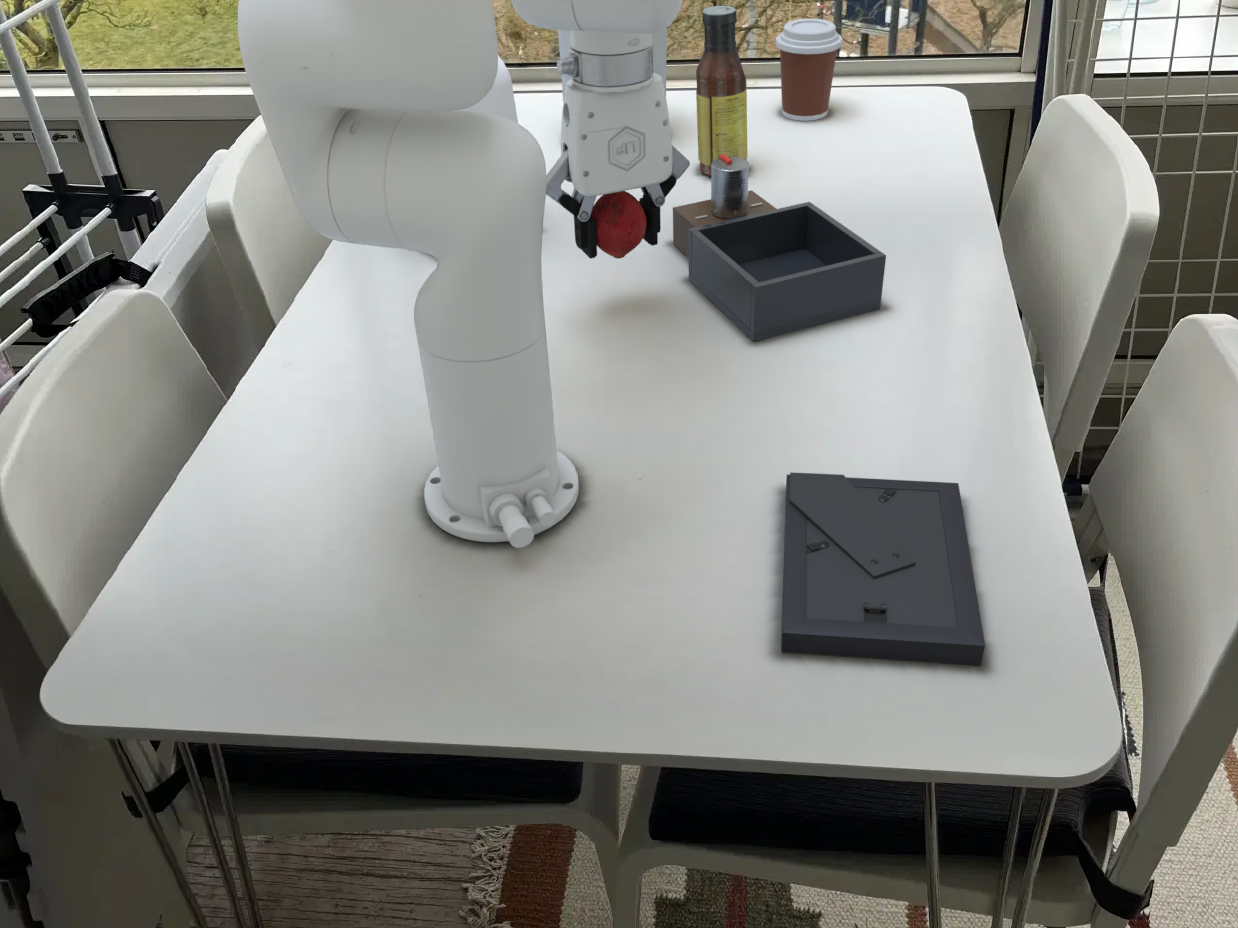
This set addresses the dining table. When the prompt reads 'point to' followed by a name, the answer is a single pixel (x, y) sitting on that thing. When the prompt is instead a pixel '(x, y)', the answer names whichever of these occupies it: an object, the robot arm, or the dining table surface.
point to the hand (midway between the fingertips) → (618, 245)
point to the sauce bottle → (720, 91)
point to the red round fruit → (618, 223)
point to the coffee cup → (807, 67)
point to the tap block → (706, 217)
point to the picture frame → (878, 571)
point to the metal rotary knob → (729, 187)
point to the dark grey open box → (785, 270)
